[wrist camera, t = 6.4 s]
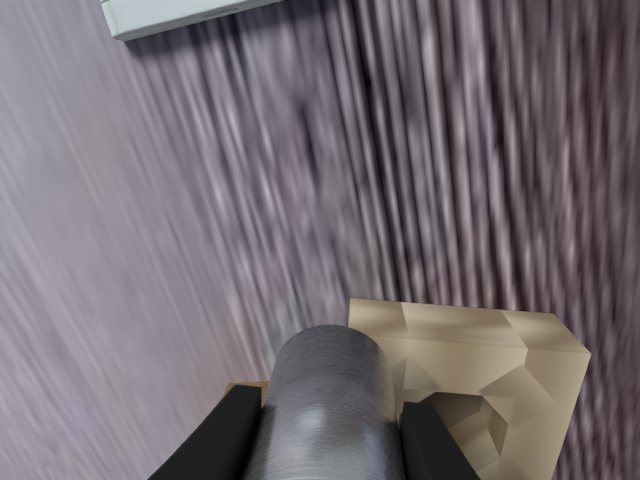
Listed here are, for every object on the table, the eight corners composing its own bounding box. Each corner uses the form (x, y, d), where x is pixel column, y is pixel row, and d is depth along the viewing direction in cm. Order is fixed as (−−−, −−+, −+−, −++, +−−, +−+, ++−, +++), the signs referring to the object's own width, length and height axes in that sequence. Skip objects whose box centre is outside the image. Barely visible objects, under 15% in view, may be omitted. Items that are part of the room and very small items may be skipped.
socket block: (553, 313, 18) (591, 354, 15) (511, 466, 21) (536, 524, 18) (350, 298, 18) (349, 334, 15) (338, 450, 21) (335, 503, 18)
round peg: (397, 329, 10) (449, 605, 5) (385, 427, 11) (416, 746, 6) (274, 320, 11) (184, 574, 5) (274, 416, 12) (199, 716, 6)
